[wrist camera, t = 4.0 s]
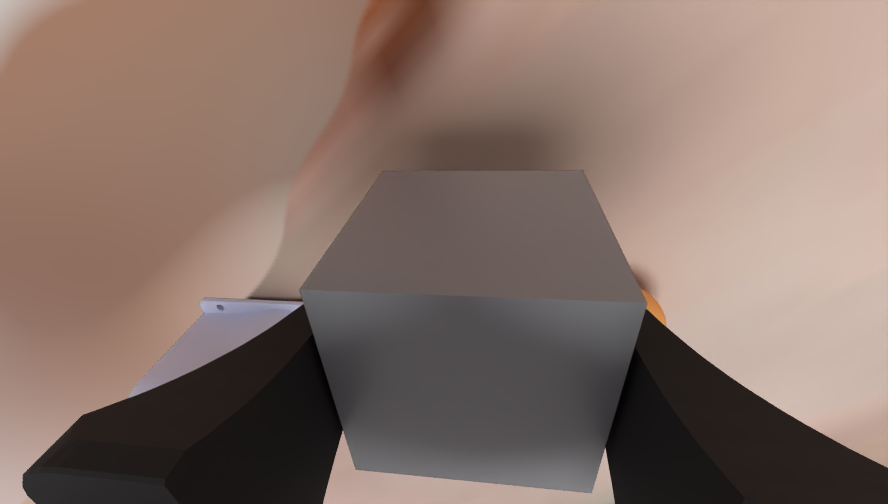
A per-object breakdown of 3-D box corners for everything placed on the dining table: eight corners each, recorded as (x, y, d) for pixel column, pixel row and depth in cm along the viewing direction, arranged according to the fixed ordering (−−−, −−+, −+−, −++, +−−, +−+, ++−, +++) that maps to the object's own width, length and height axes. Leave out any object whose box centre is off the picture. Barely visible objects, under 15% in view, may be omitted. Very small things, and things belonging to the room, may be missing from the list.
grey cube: (403, 316, 15) (355, 469, 10) (382, 171, 12) (299, 289, 7) (560, 324, 15) (591, 493, 10) (583, 170, 11) (646, 303, 6)
